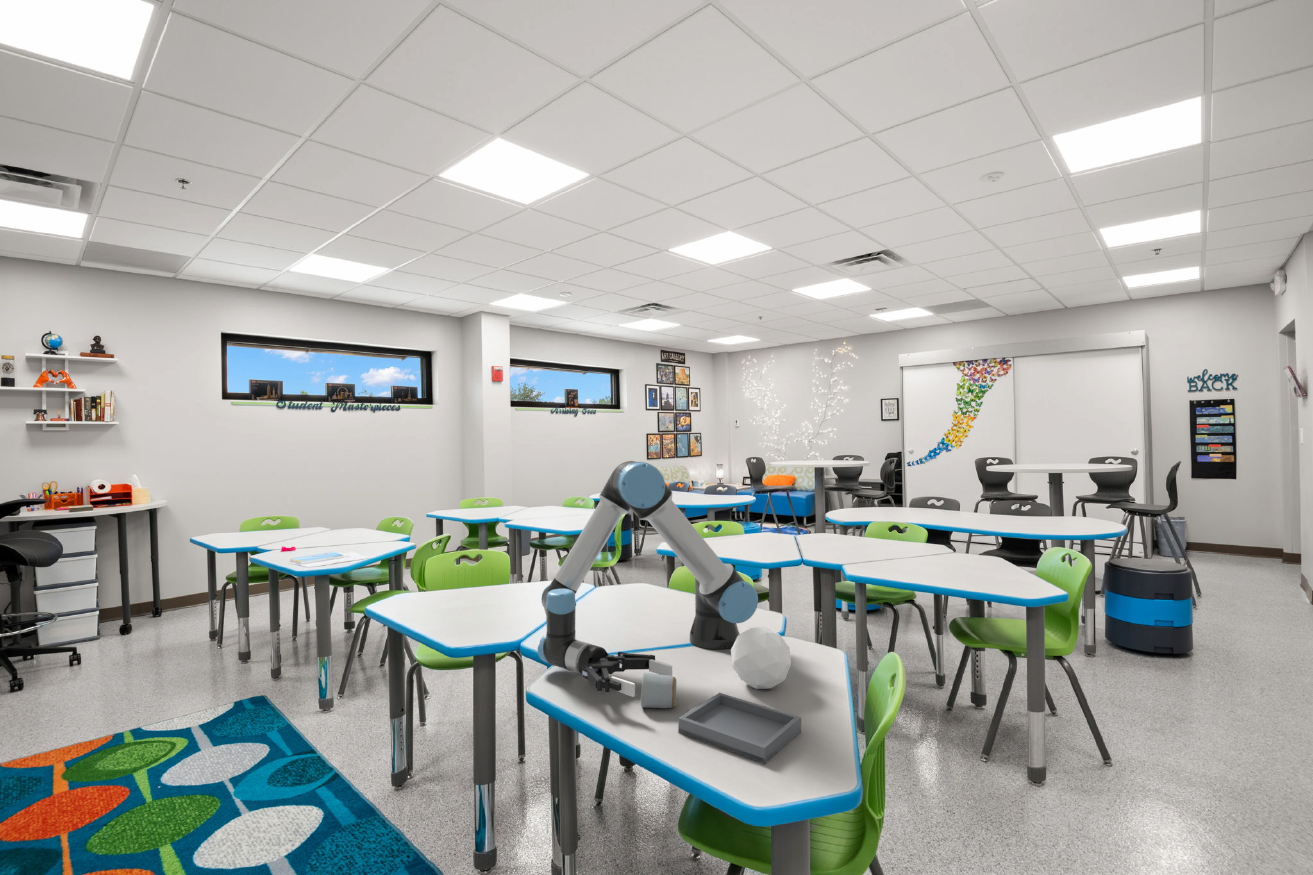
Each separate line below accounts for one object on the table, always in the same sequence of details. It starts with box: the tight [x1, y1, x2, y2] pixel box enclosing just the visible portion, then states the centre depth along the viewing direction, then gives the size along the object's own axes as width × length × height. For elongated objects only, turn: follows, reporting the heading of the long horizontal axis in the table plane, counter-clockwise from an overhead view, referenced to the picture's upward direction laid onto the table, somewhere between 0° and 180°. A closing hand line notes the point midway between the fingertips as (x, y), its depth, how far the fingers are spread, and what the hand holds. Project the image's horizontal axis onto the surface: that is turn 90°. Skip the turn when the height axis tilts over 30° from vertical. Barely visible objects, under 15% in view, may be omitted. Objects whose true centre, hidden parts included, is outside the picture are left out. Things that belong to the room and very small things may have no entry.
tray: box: [677, 692, 802, 765], centre depth 125 cm, size 16×20×3 cm
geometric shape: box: [730, 626, 792, 690], centre depth 149 cm, size 14×15×15 cm
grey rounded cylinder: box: [640, 672, 677, 709], centre depth 139 cm, size 10×8×7 cm
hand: (653, 680), depth 138 cm, fingers open, 13 cm apart
